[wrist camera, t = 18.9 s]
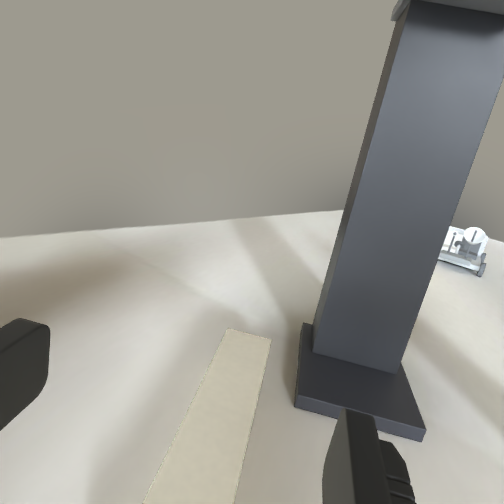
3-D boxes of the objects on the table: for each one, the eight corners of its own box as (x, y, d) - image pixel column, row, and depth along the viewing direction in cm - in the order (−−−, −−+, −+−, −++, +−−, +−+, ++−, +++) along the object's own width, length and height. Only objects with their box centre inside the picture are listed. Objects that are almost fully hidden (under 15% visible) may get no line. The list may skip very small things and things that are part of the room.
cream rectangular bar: (42, 751, 13) (47, 685, 12) (220, 358, 36) (226, 325, 35) (166, 798, 12) (182, 736, 11) (265, 370, 35) (273, 337, 34)
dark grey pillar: (293, 407, 31) (427, -68, 22) (300, 331, 44) (387, 6, 34) (421, 442, 31) (617, -38, 21) (391, 355, 43) (506, 28, 33)
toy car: (499, 235, 78) (437, 218, 83) (480, 281, 80) (421, 262, 85) (497, 225, 93) (444, 211, 98) (481, 264, 96) (431, 249, 101)
